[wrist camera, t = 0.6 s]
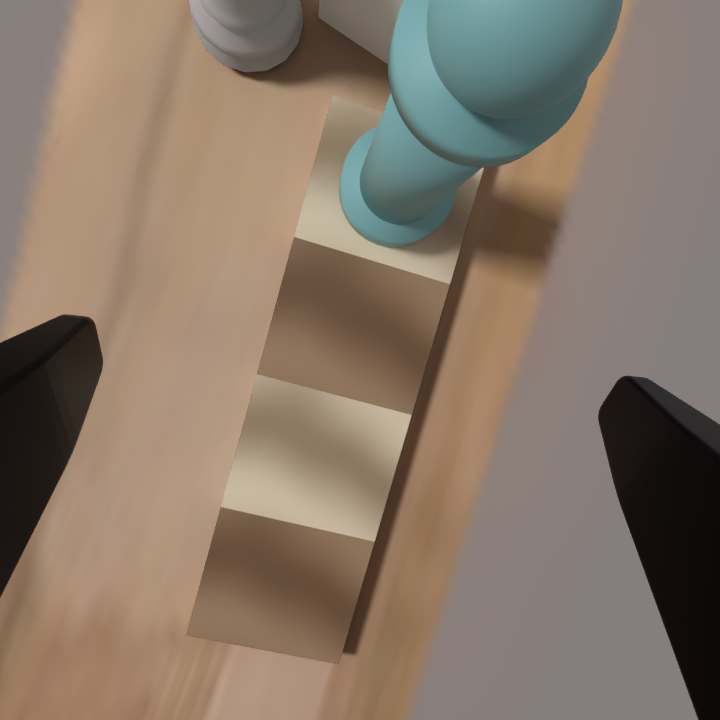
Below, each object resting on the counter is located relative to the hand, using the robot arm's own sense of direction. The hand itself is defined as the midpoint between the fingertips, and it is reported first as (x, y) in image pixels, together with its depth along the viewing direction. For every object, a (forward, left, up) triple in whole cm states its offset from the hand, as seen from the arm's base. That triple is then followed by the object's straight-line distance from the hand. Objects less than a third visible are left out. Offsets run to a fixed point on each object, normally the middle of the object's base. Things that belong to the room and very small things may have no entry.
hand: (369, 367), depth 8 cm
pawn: (+6, +2, -13) cm, 14 cm away
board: (-2, -2, -14) cm, 14 cm away
